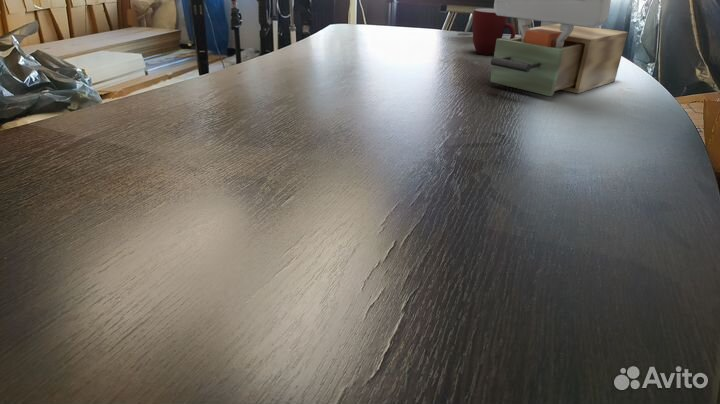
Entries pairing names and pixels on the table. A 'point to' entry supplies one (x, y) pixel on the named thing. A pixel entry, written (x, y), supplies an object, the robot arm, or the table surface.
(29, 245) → the table surface
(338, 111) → the table surface
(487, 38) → the mug
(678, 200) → the table surface
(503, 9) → the robot arm
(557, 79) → the drawer
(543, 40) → the block
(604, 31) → the cabinet
